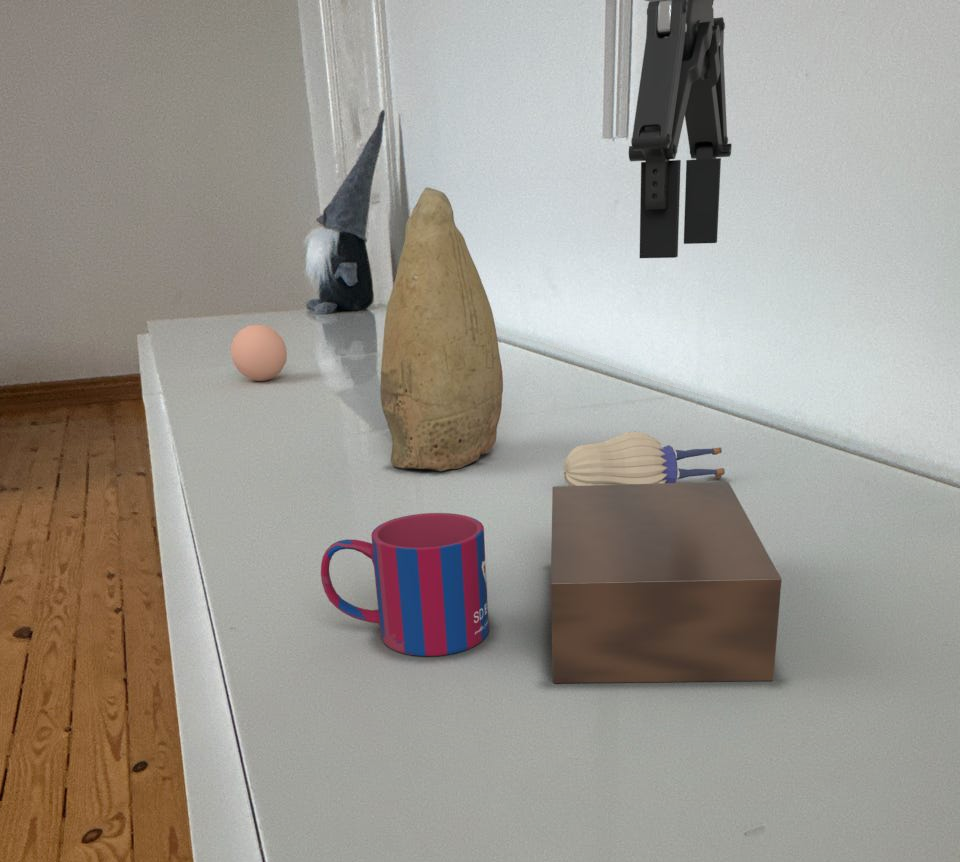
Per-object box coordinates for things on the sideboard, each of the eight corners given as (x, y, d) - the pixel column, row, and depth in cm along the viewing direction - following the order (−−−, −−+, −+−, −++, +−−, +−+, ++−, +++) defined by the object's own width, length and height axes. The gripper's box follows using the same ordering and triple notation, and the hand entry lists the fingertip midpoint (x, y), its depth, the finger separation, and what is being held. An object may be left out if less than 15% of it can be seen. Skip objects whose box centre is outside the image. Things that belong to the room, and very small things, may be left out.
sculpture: (475, 439, 108) (462, 184, 97) (525, 461, 98) (516, 182, 88) (370, 456, 103) (344, 191, 93) (411, 481, 94) (388, 190, 83)
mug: (481, 658, 59) (475, 549, 56) (317, 655, 60) (303, 549, 57) (495, 612, 65) (490, 512, 62) (346, 611, 66) (334, 512, 63)
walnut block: (723, 563, 71) (728, 481, 68) (773, 681, 54) (781, 578, 52) (554, 567, 72) (552, 486, 69) (553, 683, 55) (550, 583, 53)
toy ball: (279, 373, 152) (271, 319, 148) (298, 380, 145) (291, 324, 142) (228, 380, 148) (219, 325, 145) (246, 388, 142) (237, 330, 138)
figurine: (706, 435, 91) (551, 444, 87) (730, 421, 87) (568, 430, 83) (715, 498, 90) (560, 510, 86) (739, 487, 86) (577, 499, 82)
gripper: (681, -36, 83) (673, 239, 92) (584, -96, 62) (586, 265, 71) (774, -49, 80) (756, 237, 89) (704, -116, 59) (690, 264, 68)
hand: (680, 250), depth 80 cm, fingers open, 13 cm apart
